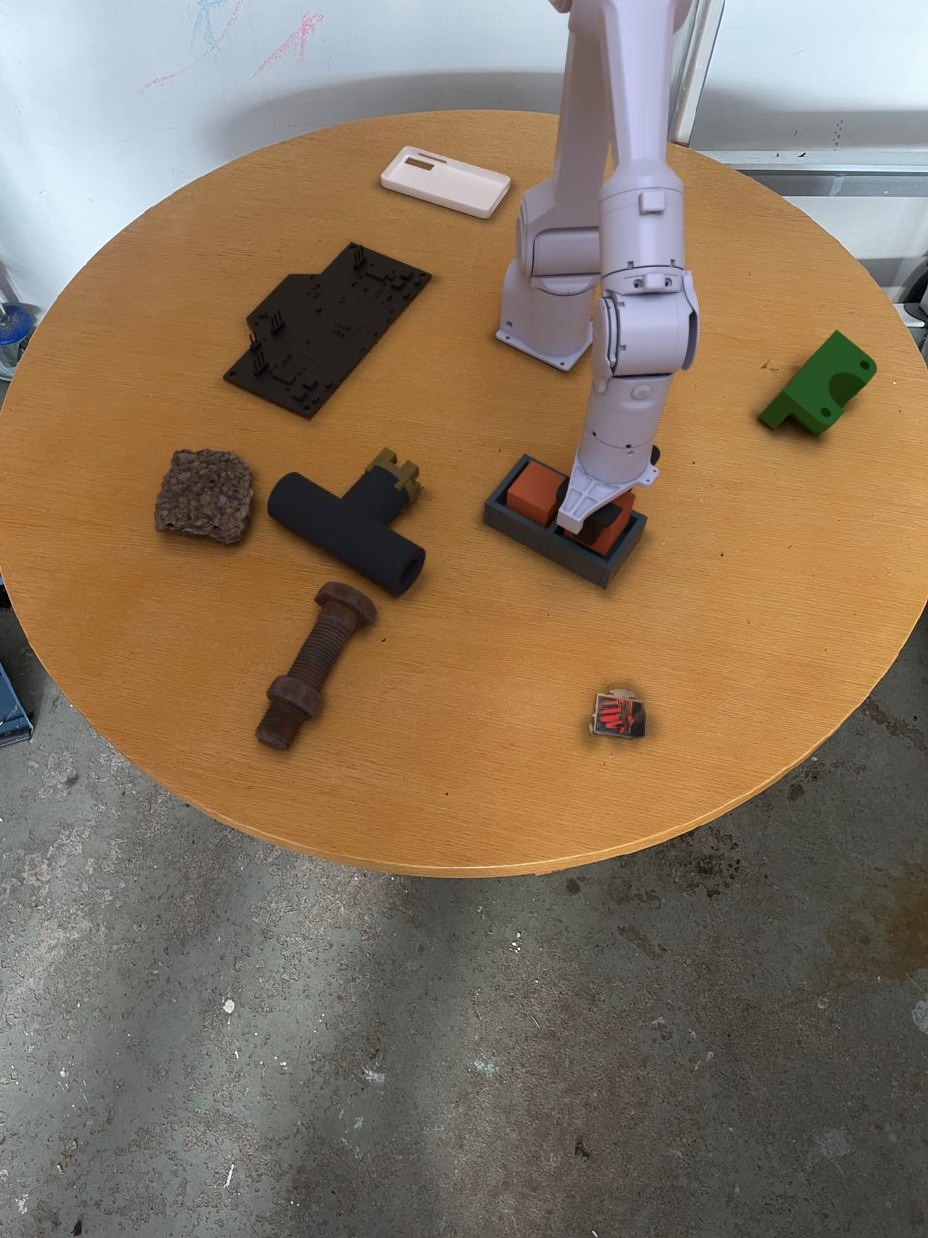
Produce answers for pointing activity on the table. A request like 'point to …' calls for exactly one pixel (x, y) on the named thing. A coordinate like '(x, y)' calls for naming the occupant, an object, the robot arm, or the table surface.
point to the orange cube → (535, 494)
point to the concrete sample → (206, 496)
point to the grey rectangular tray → (560, 534)
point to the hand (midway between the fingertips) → (597, 520)
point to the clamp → (822, 386)
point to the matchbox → (619, 715)
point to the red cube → (615, 529)
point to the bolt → (313, 664)
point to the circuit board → (323, 327)
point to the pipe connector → (357, 520)
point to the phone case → (447, 183)
